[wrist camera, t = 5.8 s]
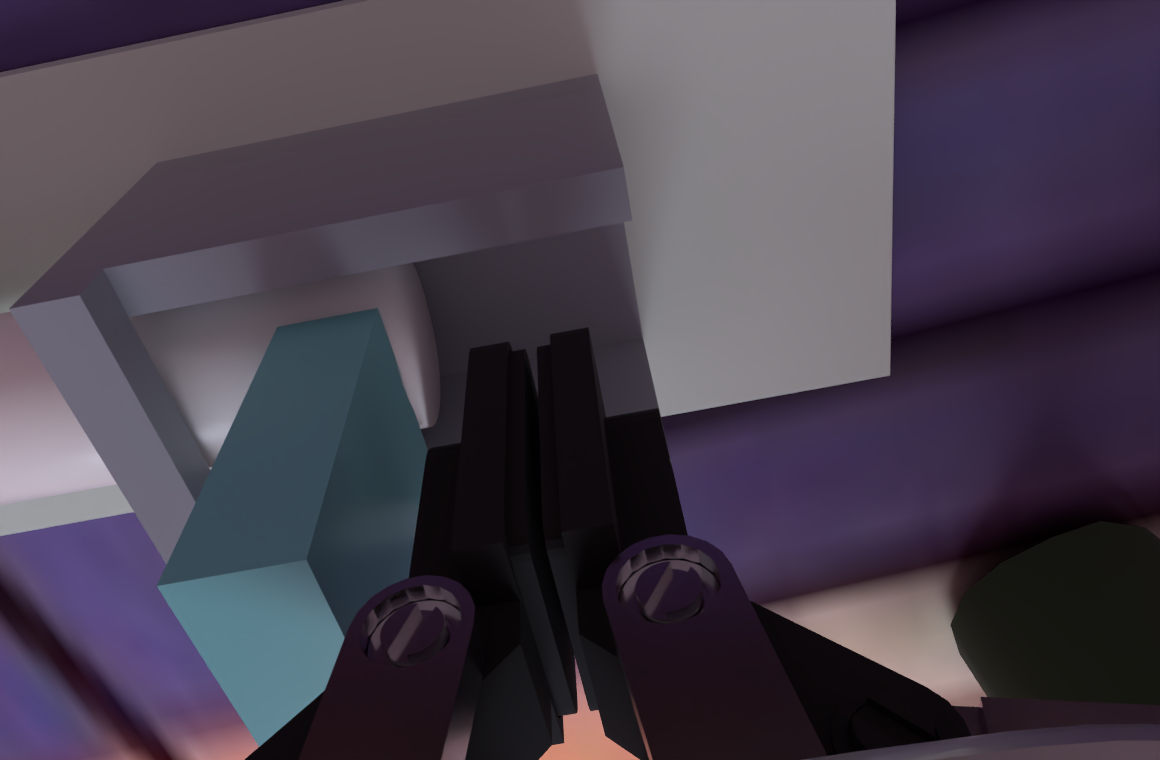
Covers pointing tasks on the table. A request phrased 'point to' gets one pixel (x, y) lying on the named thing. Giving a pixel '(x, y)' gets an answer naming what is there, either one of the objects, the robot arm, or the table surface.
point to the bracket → (351, 262)
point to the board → (511, 62)
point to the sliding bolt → (266, 467)
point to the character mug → (1069, 619)
